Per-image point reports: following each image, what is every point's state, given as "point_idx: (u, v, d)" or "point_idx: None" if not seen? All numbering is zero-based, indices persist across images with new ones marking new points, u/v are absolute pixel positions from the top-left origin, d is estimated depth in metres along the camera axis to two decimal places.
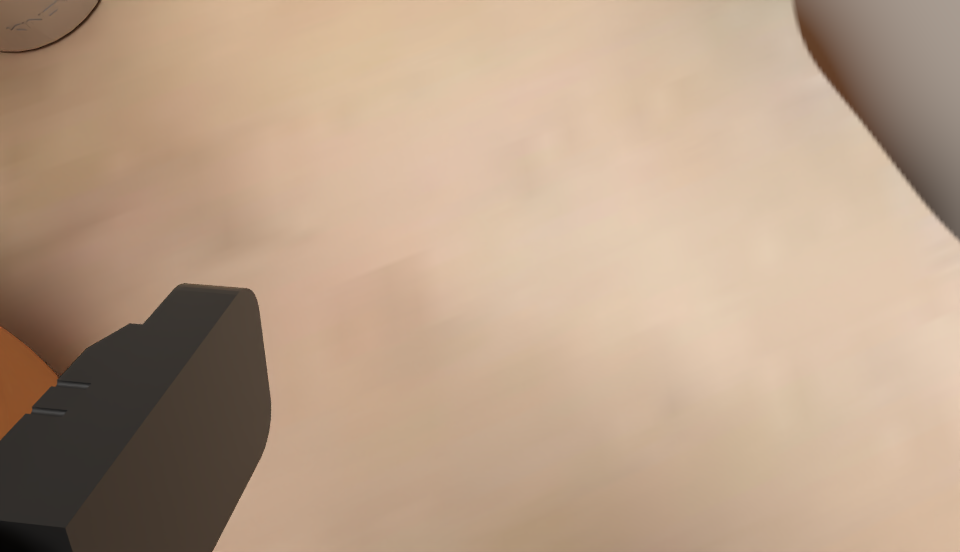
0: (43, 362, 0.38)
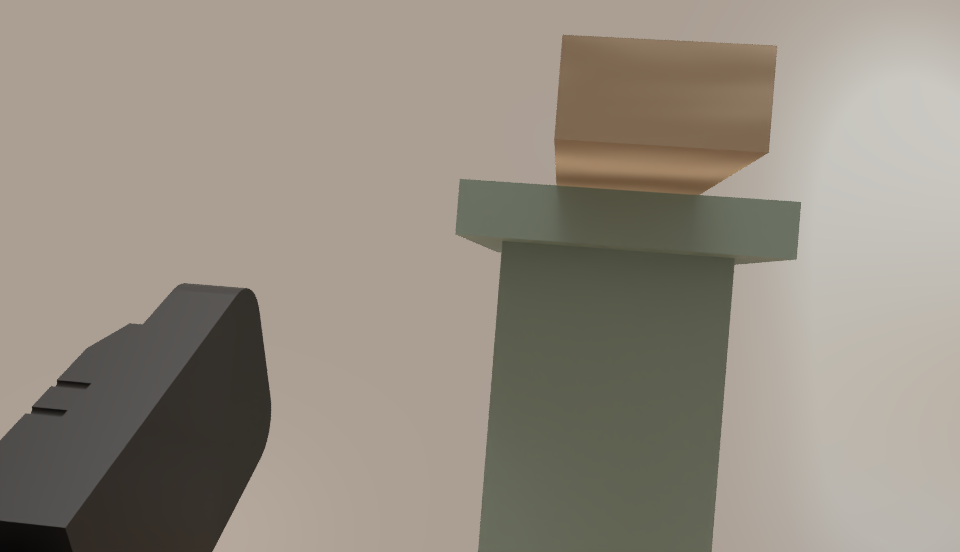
0: None
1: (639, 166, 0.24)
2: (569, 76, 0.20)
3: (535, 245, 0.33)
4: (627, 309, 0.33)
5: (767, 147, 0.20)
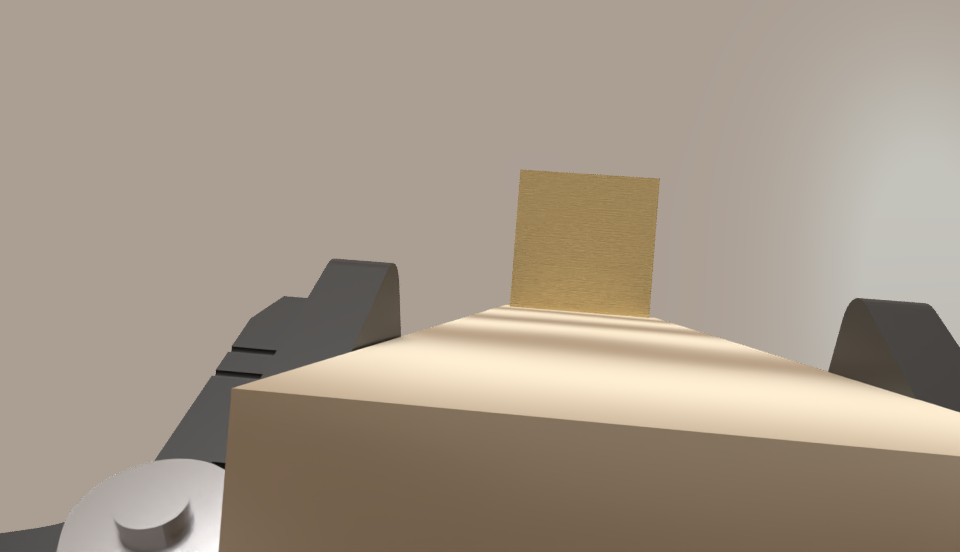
0: None
1: None
2: None
3: None
4: None
5: None
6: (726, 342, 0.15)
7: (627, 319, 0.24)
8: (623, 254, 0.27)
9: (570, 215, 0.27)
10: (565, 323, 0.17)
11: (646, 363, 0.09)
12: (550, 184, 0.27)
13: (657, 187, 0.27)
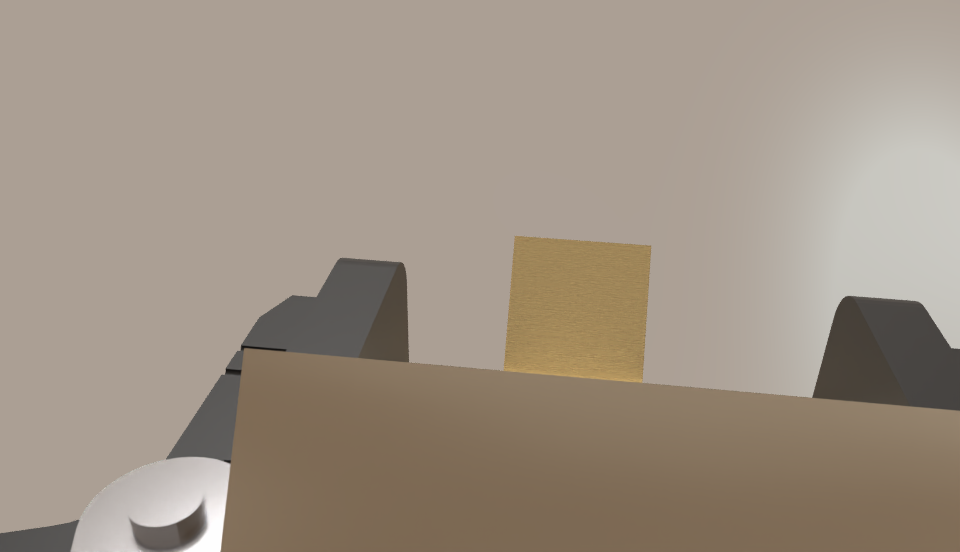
0: None
1: None
2: (261, 518, 0.05)
3: None
4: None
5: None
6: None
7: None
8: (615, 320, 0.27)
9: (563, 280, 0.28)
10: None
11: None
12: (544, 250, 0.28)
13: (649, 254, 0.28)
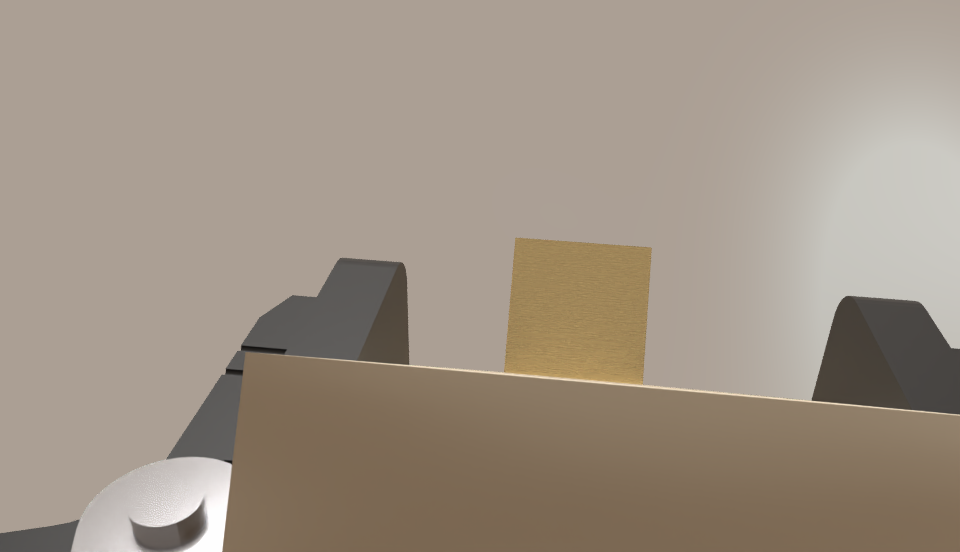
0: None
1: None
2: (262, 522, 0.05)
3: None
4: None
5: None
6: None
7: None
8: (616, 321, 0.27)
9: (564, 282, 0.28)
10: None
11: None
12: (544, 252, 0.28)
13: (649, 256, 0.28)
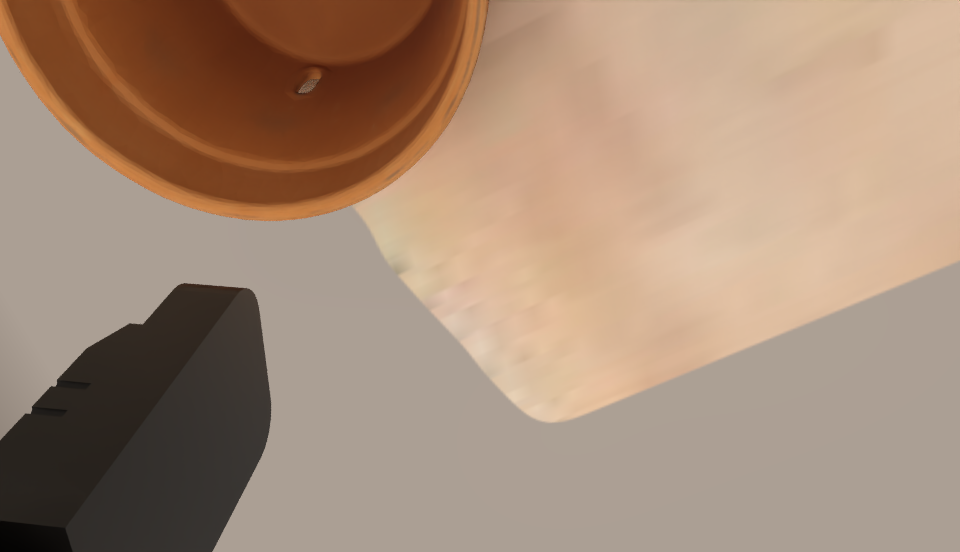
0: None
1: None
2: None
3: None
4: None
5: None
6: None
7: None
8: None
9: None
10: None
11: None
12: None
13: None
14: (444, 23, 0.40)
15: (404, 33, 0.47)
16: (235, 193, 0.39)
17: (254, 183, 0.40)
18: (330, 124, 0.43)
